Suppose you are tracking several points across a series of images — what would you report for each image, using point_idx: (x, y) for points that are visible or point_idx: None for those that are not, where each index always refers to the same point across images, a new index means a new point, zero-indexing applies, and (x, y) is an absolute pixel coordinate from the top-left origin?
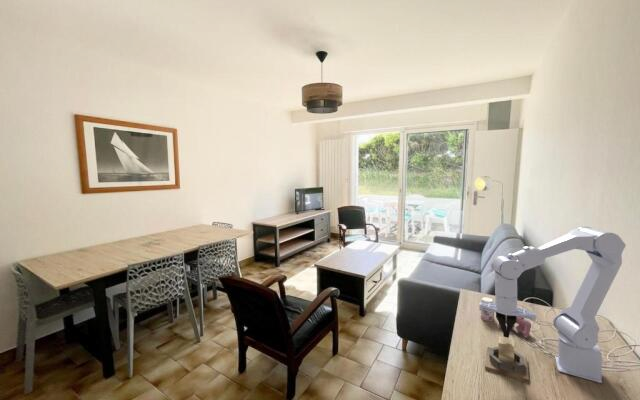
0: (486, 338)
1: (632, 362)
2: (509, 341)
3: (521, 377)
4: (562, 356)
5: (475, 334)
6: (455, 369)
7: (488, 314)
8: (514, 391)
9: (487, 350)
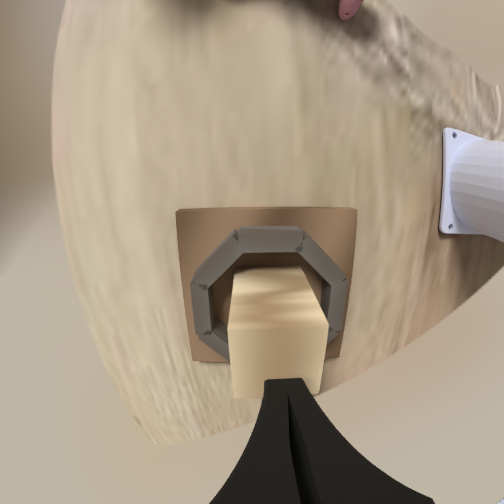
0: (165, 102)
1: None
2: (298, 359)
3: None
4: (485, 220)
5: (115, 100)
6: (122, 385)
7: None
8: None
9: (179, 246)
